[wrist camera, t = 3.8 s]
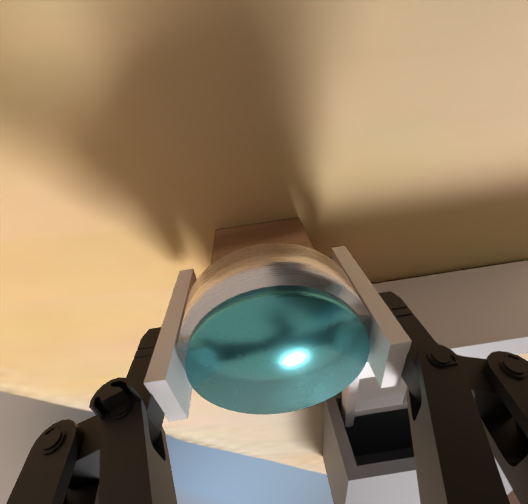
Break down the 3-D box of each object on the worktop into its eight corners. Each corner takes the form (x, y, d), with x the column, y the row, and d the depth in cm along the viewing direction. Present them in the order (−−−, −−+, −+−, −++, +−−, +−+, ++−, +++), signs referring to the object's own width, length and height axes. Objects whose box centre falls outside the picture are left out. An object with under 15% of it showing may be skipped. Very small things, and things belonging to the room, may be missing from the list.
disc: (161, 258, 10) (139, 308, 8) (358, 229, 10) (394, 270, 8) (209, 374, 15) (203, 429, 12) (347, 353, 15) (369, 403, 12)
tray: (326, 290, 18) (359, 363, 13) (552, 256, 19) (665, 315, 14) (325, 406, 27) (344, 475, 22) (480, 381, 27) (534, 445, 22)
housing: (323, 391, 26) (348, 480, 20) (488, 365, 26) (563, 446, 20) (322, 456, 34) (340, 533, 28) (447, 437, 34) (491, 508, 28)
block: (216, 229, 15) (207, 282, 11) (298, 217, 15) (322, 264, 11) (231, 292, 18) (230, 354, 14) (302, 282, 18) (321, 340, 14)
